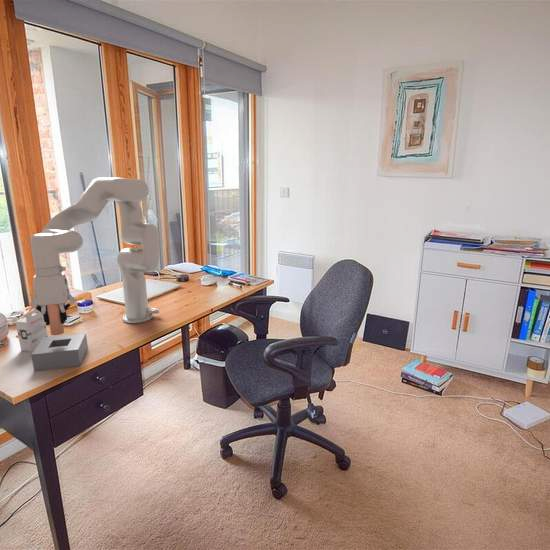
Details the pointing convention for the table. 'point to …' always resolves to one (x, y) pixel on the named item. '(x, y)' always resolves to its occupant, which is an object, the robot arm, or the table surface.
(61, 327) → the peg
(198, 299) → the table surface
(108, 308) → the table surface
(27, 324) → the ink box
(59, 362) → the socket block
